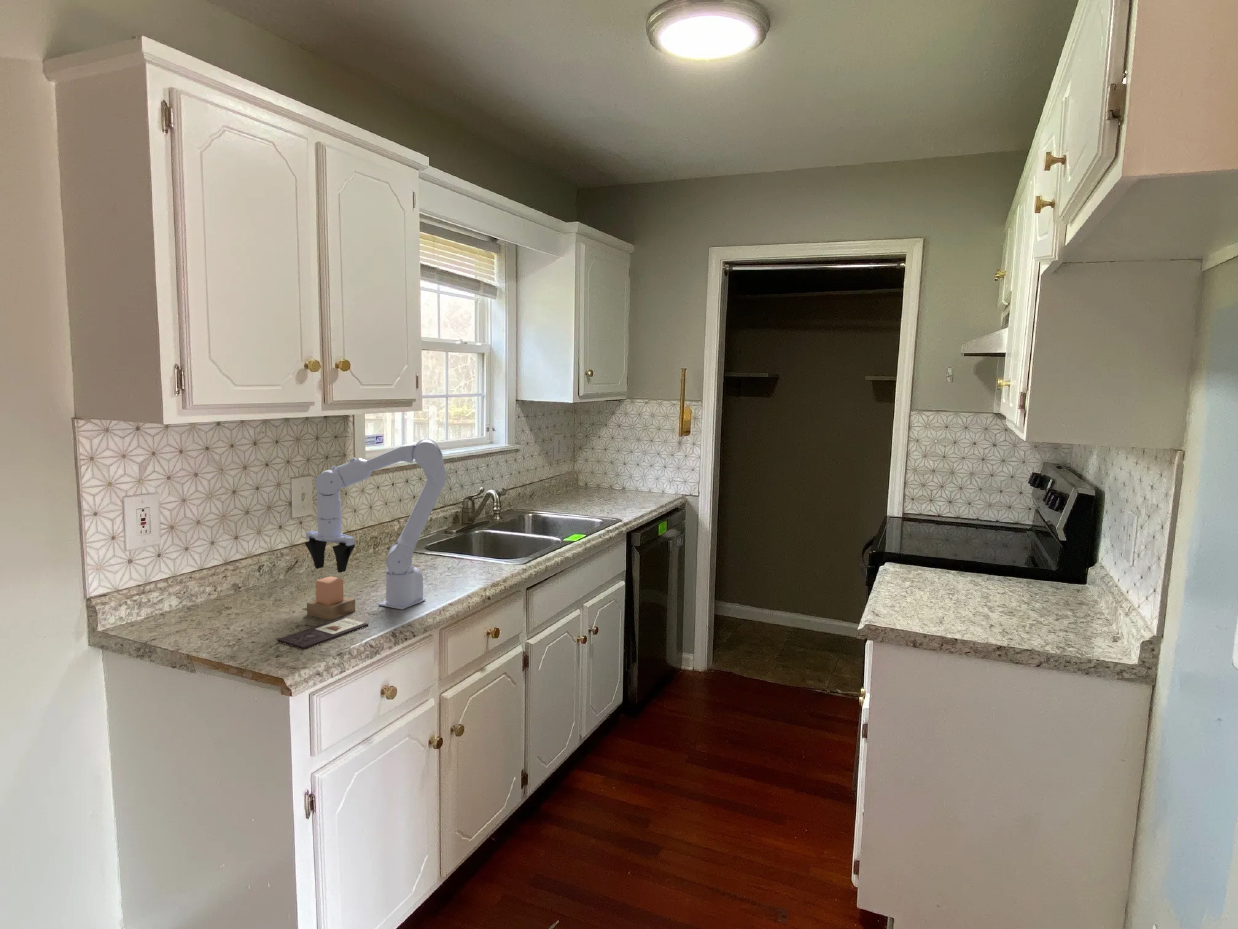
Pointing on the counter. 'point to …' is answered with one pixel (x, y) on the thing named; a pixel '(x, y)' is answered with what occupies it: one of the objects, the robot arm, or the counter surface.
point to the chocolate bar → (322, 633)
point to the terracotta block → (329, 590)
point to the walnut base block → (331, 608)
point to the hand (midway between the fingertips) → (330, 569)
